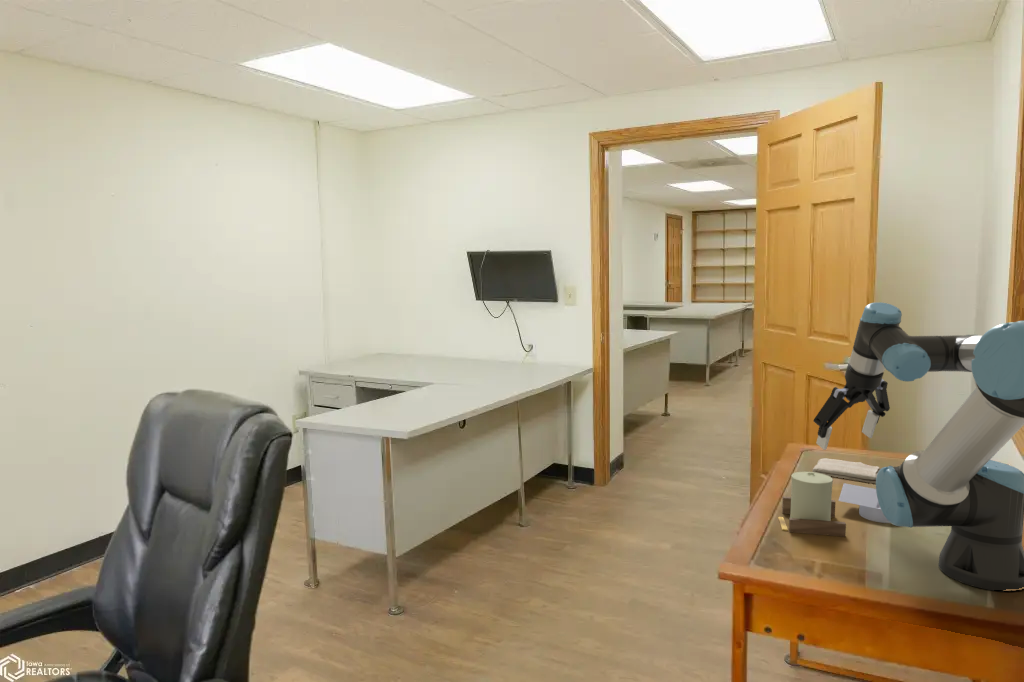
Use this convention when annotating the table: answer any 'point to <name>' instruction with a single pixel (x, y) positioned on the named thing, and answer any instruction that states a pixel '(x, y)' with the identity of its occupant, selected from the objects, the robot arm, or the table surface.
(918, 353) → the robot arm
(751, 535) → the table surface
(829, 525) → the channel
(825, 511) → the can
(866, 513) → the wedge on round base
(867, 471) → the washcloth
